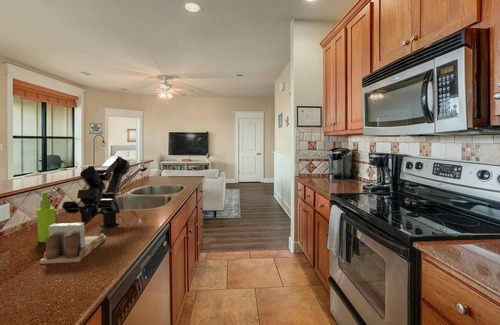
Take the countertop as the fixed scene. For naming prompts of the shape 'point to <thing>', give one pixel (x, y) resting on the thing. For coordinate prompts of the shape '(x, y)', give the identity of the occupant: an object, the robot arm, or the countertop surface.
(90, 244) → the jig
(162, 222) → the countertop surface
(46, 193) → the soap dispenser
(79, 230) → the white square slab
